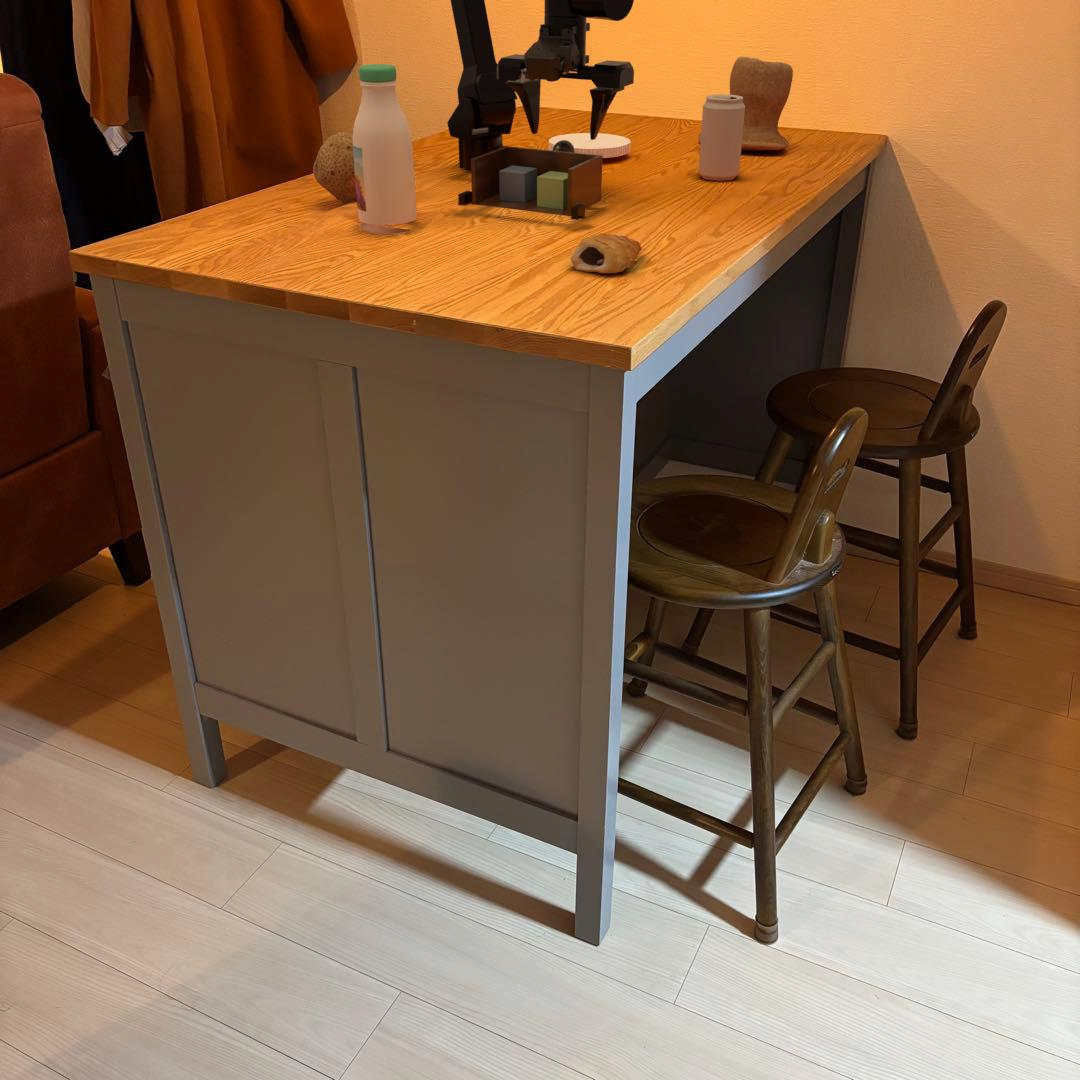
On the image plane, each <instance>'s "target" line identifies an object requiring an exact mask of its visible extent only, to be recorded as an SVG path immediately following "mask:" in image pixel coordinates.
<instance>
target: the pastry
mask: <svg viewBox="0 0 1080 1080" xmlns="http://www.w3.org/2000/svg"><path fill="white" fill-rule="evenodd" d="M641 251H642V245H641V243H640V242H639V241H637V240H635V239H632V238H629V237H628V236H625V235H618V234H609V233H608V234H607V233H598V234H592V235H591V236H589V237H584V238H582V240H580V242H579V244H578V245H577V246H576V248H575V249H574V251H573V253H572V255H571V256H570V262H571V264H572V265H573V266H574V269H575V270H577V271H580V272H581V271H582V272H587V273H588V272H589V273H590V272H595V273H599V274H617V273H620V272H623V271H624V270H625V269H627V268H628V269H631V268H632V267H634V265H636V264H637V263H638V262H639V260H634V259H636V257H637V256H638V255H639V254H640V252H641Z"/></svg>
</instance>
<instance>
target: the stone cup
mask: <svg viewBox="0 0 1080 1080" xmlns="http://www.w3.org/2000/svg"><path fill="white" fill-rule="evenodd" d="M793 78H794V69H793V67H792V65H791V64H789V63H787V62H781V61H766V60H761V59H759V58H756V57H750V56H749V57H748V56H738V57H737V58H736V60H735V61H734V63H733V65H732V68H731V71H730V76H729V95H737V96H742V97H743V100H742V101H743V103H744V105H745V113H744V124H743V135H742V147H741V152H743V151H744V152H762V151H763V152H764V151H779V150H783V149H786V148H787V147H788V146H789V140H788V139H787V138H786V137H785V136H783V135H781V134H780V132H779V128H778V127H779V121H780V117H781V115H782V113H783V110H784V108H785V106H786V104H787V102H788V99H789V96H790V93H791V87H792V83H793ZM697 137H698V139H697V143H698V145H700V143H701V131H700V132H699V134H698V136H697Z"/></svg>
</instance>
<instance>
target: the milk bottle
mask: <svg viewBox="0 0 1080 1080" xmlns="http://www.w3.org/2000/svg"><path fill="white" fill-rule="evenodd" d="M358 76H359V81H360V83H359V85H360V86H361V100H360V105H359V108H358V111H357V114H356V117H355V120H354V124H353V129H352V134H353V156H354V170H355V183H356V195H357V201H356V206H357V217H358V221H359V223H358V225H359V227H360V229H361V230H362V231H364V232H366V233H370V234H377V235H393V234H401V233H407V232H410V231H411V229H406V228H399V227H393V226H396V225H404V224H407V223H411V222H413V221H415V220H417V218H418V215H417V214H418V213H417V212H418V211H417V195H416V181H415V180H416V178H415V161H414V148H413V137H412V131H411V127H410V124H409V121H408V119H407V117H406V115H405V114H404V111H403V109H402V107H401V105H400V102H399V100H398V96H397V92H396V86H397V84H398V82H397V69H396V66H395V65H392V64H388V63H387V64H384V63H374V64H373V63H371V64H364V65H361V66H359V67H358ZM390 226H392V227H390Z"/></svg>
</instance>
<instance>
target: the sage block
mask: <svg viewBox="0 0 1080 1080" xmlns="http://www.w3.org/2000/svg"><path fill="white" fill-rule="evenodd" d="M567 201H568V173H563V172H554V171H549V172H547V173H544V174H542V175H540V176H538V177H537V206H538V207H546V208H554V209H562V210H563V209H565V208H567Z"/></svg>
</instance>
